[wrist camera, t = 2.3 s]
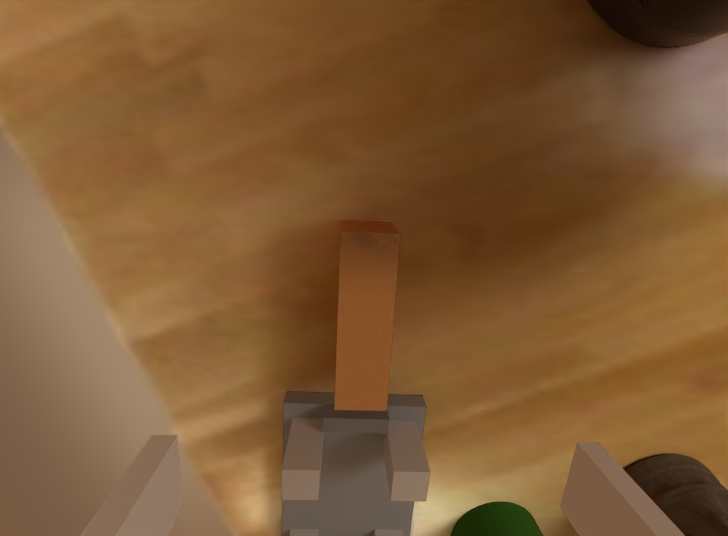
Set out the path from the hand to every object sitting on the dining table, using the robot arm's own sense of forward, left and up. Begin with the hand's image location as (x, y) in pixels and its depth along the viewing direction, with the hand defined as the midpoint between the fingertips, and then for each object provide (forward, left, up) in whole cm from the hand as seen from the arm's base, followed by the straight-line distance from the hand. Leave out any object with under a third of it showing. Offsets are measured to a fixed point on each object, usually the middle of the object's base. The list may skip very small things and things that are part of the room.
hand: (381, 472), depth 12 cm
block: (0, 0, -16) cm, 16 cm away
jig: (+16, 0, -16) cm, 23 cm away
